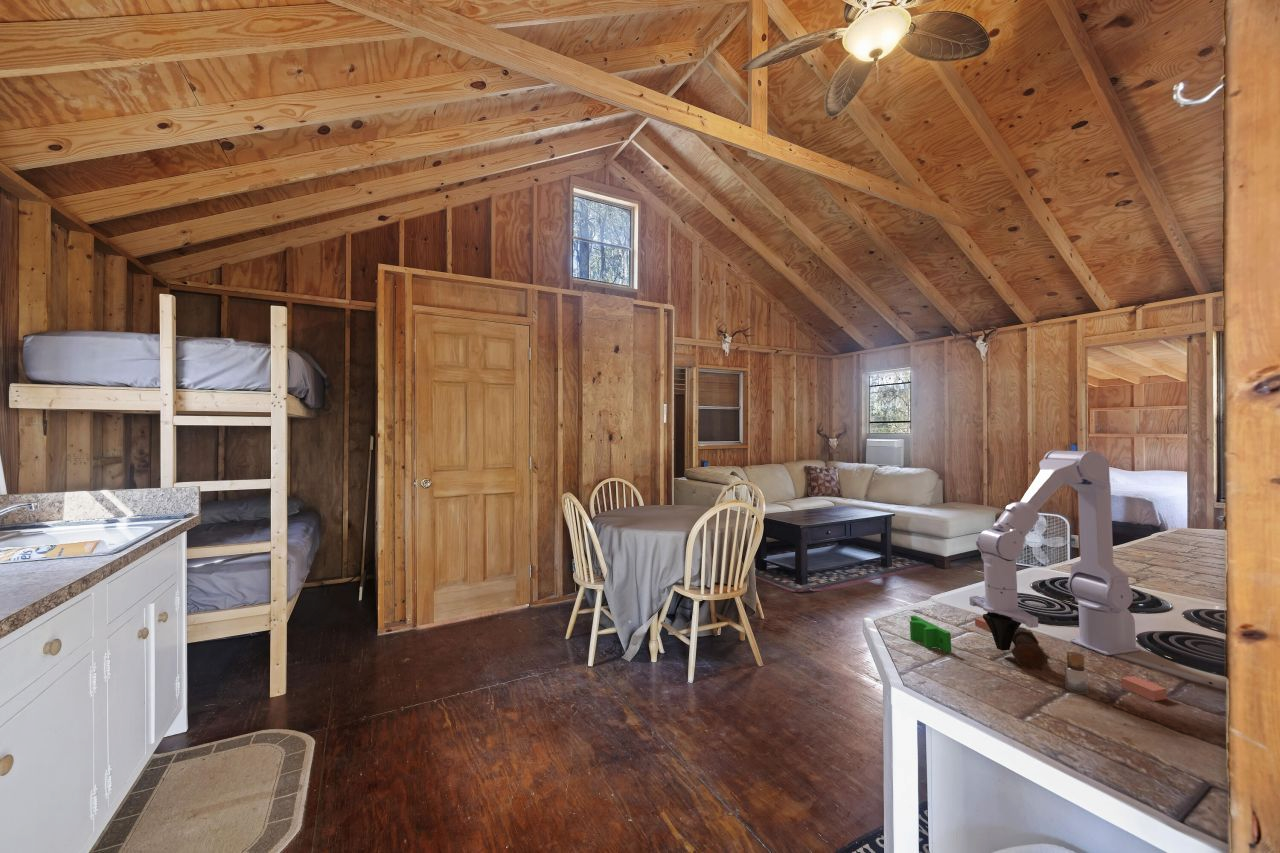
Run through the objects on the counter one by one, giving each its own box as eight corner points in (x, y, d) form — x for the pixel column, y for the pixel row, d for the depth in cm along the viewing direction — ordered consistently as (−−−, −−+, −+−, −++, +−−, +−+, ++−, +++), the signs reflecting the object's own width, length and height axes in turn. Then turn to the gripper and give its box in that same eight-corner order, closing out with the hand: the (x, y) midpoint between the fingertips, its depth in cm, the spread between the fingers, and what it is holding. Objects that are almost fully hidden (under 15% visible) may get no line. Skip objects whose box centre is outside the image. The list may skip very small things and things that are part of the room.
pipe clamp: (901, 635, 121) (901, 616, 121) (915, 634, 122) (914, 615, 122) (936, 655, 110) (935, 633, 110) (951, 653, 111) (950, 632, 111)
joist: (985, 624, 126) (984, 616, 126) (1003, 631, 121) (1003, 624, 121) (975, 625, 125) (974, 618, 125) (993, 633, 121) (992, 625, 121)
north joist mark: (1134, 685, 95) (1133, 675, 95) (1166, 698, 90) (1166, 688, 90) (1121, 687, 94) (1121, 677, 94) (1153, 701, 89) (1153, 690, 89)
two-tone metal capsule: (1074, 684, 96) (1073, 650, 96) (1093, 692, 93) (1091, 657, 93) (1061, 686, 95) (1059, 652, 95) (1079, 695, 92) (1077, 659, 92)
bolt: (1027, 651, 115) (1035, 676, 102) (1002, 636, 117) (1008, 659, 104) (1042, 631, 113) (1052, 654, 101) (1017, 616, 116) (1024, 637, 103)
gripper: (957, 578, 115) (959, 638, 115) (1016, 598, 101) (1019, 666, 101) (983, 575, 117) (985, 634, 116) (1045, 594, 102) (1048, 662, 102)
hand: (1003, 649), depth 109 cm, fingers closed
